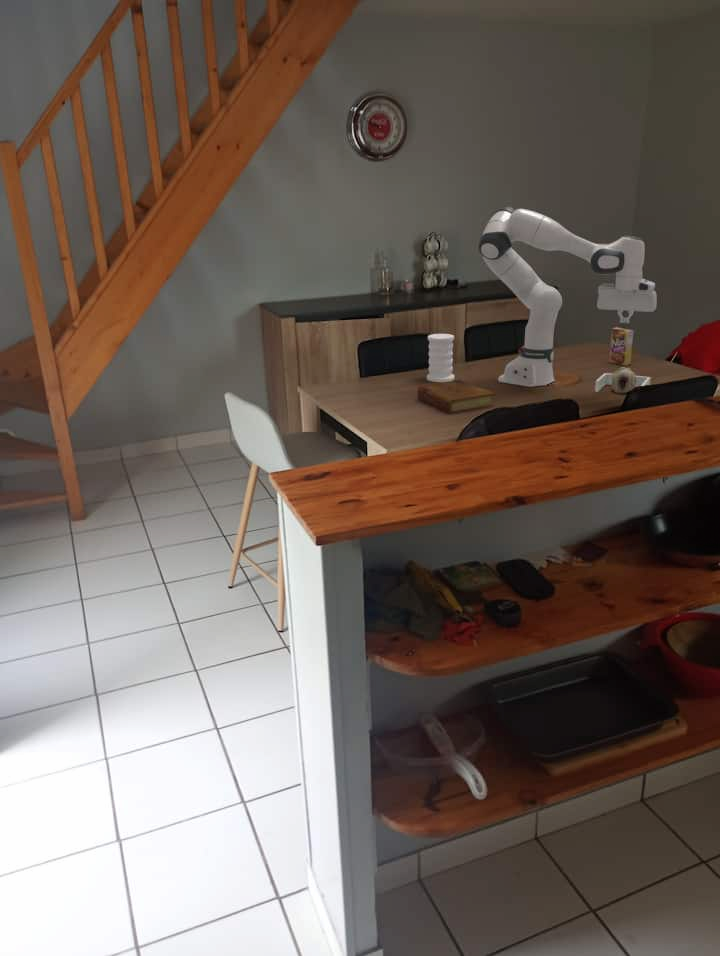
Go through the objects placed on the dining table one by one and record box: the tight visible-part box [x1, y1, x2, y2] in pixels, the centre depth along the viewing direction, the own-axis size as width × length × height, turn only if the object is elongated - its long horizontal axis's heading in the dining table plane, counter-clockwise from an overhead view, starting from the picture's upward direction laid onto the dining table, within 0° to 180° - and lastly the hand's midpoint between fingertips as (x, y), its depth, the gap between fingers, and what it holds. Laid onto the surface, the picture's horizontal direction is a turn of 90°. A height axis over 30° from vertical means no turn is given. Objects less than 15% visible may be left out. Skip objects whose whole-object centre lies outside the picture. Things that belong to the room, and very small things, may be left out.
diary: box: [417, 379, 494, 415], centre depth 278 cm, size 23×19×6 cm
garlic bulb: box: [611, 366, 637, 394], centre depth 285 cm, size 9×8×10 cm
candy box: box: [609, 326, 634, 366], centre depth 325 cm, size 9×4×15 cm, turn 28°
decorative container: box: [426, 333, 455, 383], centre depth 310 cm, size 12×12×18 cm
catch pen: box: [594, 372, 652, 393], centre depth 287 cm, size 18×14×4 cm
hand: (624, 322), depth 269 cm, fingers closed
